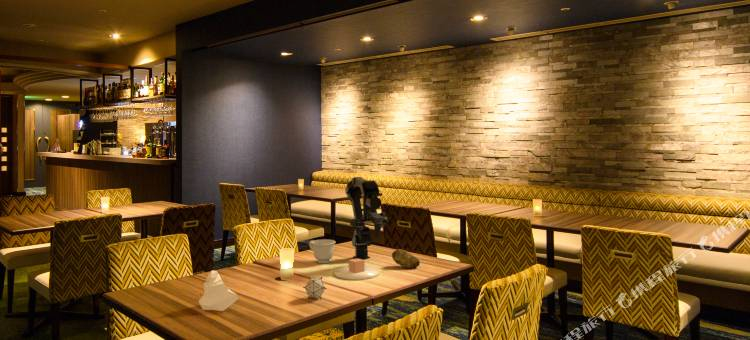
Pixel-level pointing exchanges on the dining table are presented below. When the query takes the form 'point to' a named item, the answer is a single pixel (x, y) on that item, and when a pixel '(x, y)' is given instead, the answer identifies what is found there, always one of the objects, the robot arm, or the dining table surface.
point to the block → (356, 265)
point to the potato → (405, 259)
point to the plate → (346, 274)
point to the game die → (314, 288)
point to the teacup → (322, 249)
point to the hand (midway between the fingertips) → (369, 238)
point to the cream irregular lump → (216, 294)
